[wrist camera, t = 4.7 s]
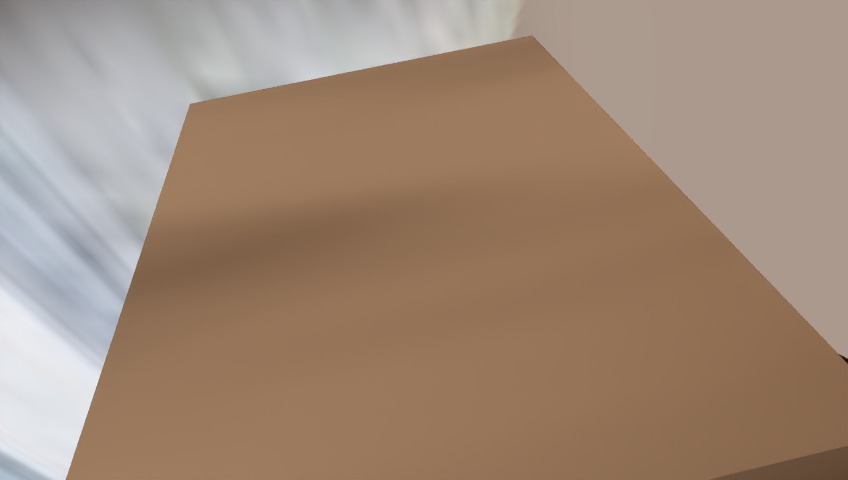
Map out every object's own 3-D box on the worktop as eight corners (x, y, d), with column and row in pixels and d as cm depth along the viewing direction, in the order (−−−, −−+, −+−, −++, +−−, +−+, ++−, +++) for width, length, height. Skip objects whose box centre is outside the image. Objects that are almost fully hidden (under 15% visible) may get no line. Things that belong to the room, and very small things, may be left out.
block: (540, 331, 10) (726, 740, 6) (303, 385, 10) (311, 850, 6) (532, 35, 7) (912, 431, 3) (190, 103, 7) (9, 649, 3)
